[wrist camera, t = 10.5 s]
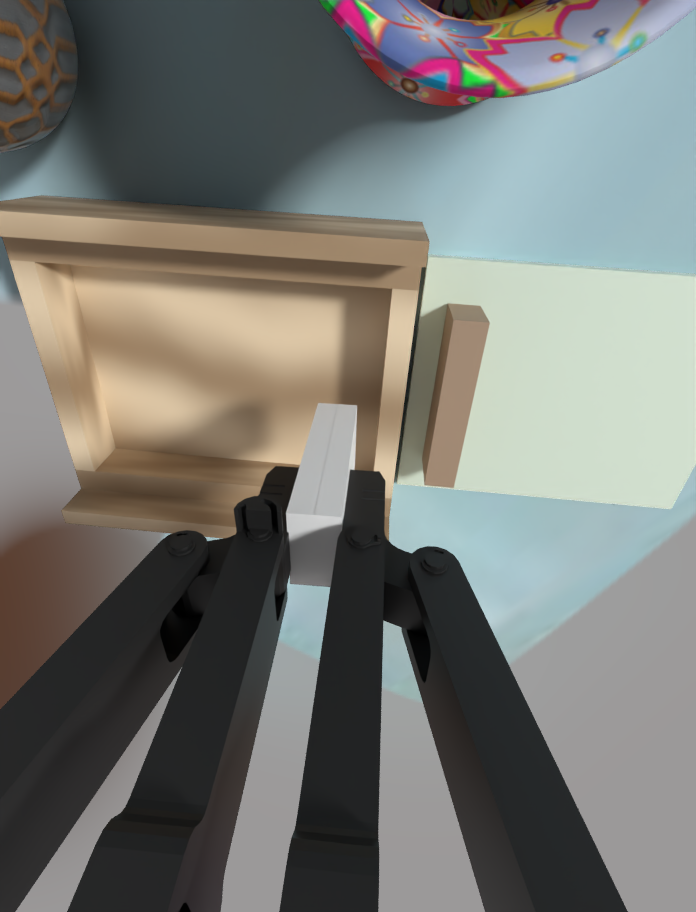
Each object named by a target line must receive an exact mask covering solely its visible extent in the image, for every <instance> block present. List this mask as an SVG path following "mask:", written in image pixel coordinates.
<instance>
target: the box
mask: <svg viewBox="0 0 696 912" xmlns="http://www.w3.org/2000/svg"><path fill="white" fill-rule="evenodd" d="M0 236H2V238H3V241H4V245H5V248H6V251H7V254H8V257H9V260H10V264H11V267H12V270H13V273H14V276H15V280H16V283H17V286H18V289H19V292H20V295H21V299H22V302H23V305H24V308H25V311H26V314H27V318H28V321H29V324H30V327H31V330H32V334H33V337H34V340H35V343H36V346H37V349H38V352H39V356H40V359H41V362H42V365H43V369H44V372H45V375H46V378H47V381H48V384H49V388H50V391H51V394H52V397H53V400H54V403H55V407H56V409H57V413H58V416H59V419H60V423H61V425H62V429H63V432H64V435H65V438H66V442H67V445H68V448H69V451H70V454H71V457H72V461H73V463H74V467H75V470H76V473H77V477H78V480H79V483H80V486H81V490H80V491H79V492H78V493H77V494H76V495H75V496H74V497H73V498H72V500H71V501H70V502H69V503H68V504H67V505H66V506H65V507H64V508H63V510H62V514H63V517H64V520H65V523H69V524H79V525H90V526H100V527H112V528H121V529H132V530H142V531H153V532H163V533H175V532H178V531H184V530H191V531H197V532H199V533H201V534H203V535H204V537H215V538H228V537H231V536H233V535H235V534H236V532H237V531H236V524H235V516H234V508H235V506H236V505H237V504H238V503H239V502H241V501H242V500H244V499H246V498H249V497H252V496H258V495H259V494H260V490H261V487H262V486H263V482H264V480H265V477H266V474H267V473H268V472H270V471H271V470H272V469H273V468H274V467H275V466H286V467H300V463H301V460H302V457H303V453H304V450H305V446H306V443H307V439H308V436H309V433H310V429H311V426H312V422H313V419H314V415H315V412H316V409H317V405H318V403H326V404H344V405H357V424H356V451H355V469H354V470H365V471H380V473H381V475H382V476H383V478H384V479H385V526H384V531H385V536H386V538H387V540H388V541H389V514H390V506H391V499H392V491H393V484H394V476H395V468H396V461H397V453H398V445H399V438H400V430H401V423H402V415H403V407H404V400H405V392H406V384H407V377H408V369H409V362H410V354H411V346H412V339H413V331H414V323H415V316H416V308H417V301H418V293H419V285H420V278H421V270H422V267H425V268H426V264H427V257H428V249H429V239H428V236H427V234H426V231H425V228H424V226H423V223H422V222H415V221H401V220H386V219H372V218H358V217H343V216H329V215H315V214H300V213H286V212H272V211H257V210H243V209H228V208H214V207H200V206H185V205H171V204H157V203H142V202H128V201H114V200H99V199H85V198H71V197H56V196H42V195H41V196H34V197H27V198H20V199H13V200H6V201H0Z"/></svg>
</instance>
